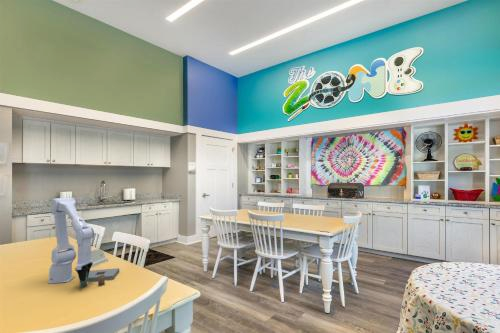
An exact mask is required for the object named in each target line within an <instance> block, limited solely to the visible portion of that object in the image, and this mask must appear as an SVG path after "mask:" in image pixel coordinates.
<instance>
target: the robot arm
mask: <svg viewBox="0 0 500 333" xmlns="http://www.w3.org/2000/svg"><path fill="white" fill-rule="evenodd" d="M49 206H50V213H51V214H50V215H52V216H53V219H54V227H55V236H56V244H57V246H56V247H54V248H53V250H51V259H50V260H51V263H52V264H51V265H50V266H49V270H48V282H47V284H50V285H51V284H58V283H60V284H62V283H69V282H70V281H71V280H73V279H74V278H75V277H76V276H75V275H73V262H74V260H75V259H76V257H77V262H76V266H75V268H74V270H75V272H76V274H77V276H78V279H79V282H80V281H85V279H86V274H87V278H88V275H89V271H91V269H92V268H91V266H92V264H93V263H91V262H93V261H94V260H92V257H91V251H92V239H93V238H94V236H95V231H94V228H93V227H91V226H90V225H88V224H87V222H86V221H85V219H84V218H83V217H81V216H79V213H78V211H77V208H76V199H75V198H74V197H73V196H72V197H71V196H70V197H60V198H59V197H58V198H52V200H51V201H50V204H49ZM66 215H68V217H69V218H70V220H71V221H70V225H71V226H72V228H73V230H74V231H75V234H74V235H75V237H74V238H75V240H76V245H77V251H76V248H75V245H72V244H71V243H70V242H69V235H68V234H69V233H68V225H67V224H68V223H67V218H66V217H67V216H66ZM85 266H87V267H85Z"/></svg>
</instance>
